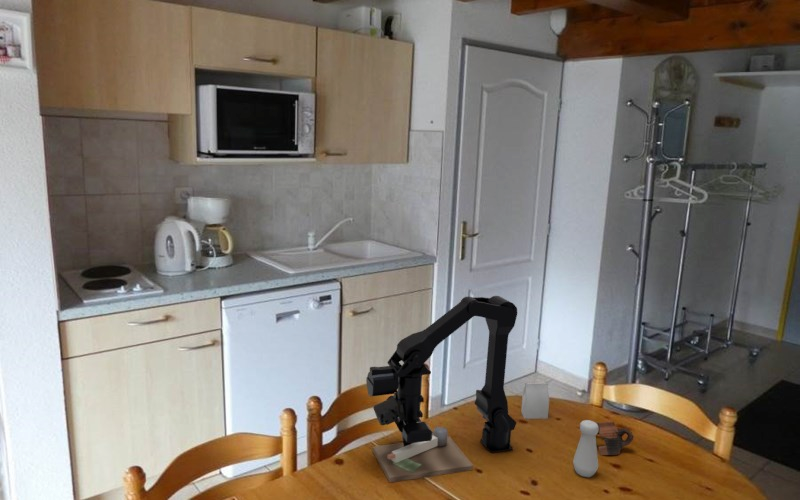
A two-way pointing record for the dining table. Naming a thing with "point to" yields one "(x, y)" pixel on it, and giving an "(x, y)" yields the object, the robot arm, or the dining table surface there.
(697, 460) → the dining table surface
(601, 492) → the dining table surface
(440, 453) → the board
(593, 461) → the salt shaker
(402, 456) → the lever
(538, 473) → the dining table surface
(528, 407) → the grey block
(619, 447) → the pottery mug
